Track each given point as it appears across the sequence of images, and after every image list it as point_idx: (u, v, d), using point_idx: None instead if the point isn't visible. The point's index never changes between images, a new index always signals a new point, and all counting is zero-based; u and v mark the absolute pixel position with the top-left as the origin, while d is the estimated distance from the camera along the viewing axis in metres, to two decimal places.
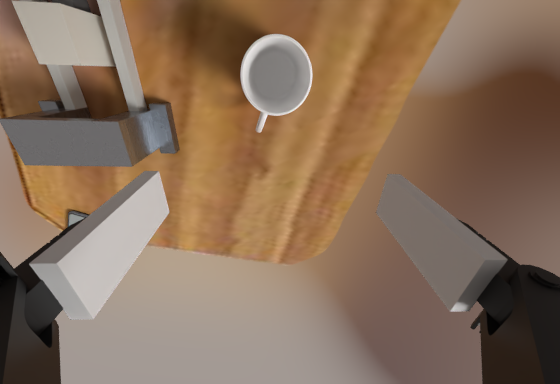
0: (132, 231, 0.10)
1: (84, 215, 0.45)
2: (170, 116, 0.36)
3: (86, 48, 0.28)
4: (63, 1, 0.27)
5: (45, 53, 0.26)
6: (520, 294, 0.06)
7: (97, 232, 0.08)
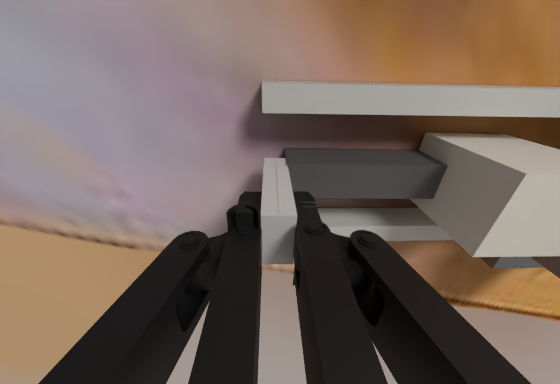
0: None
1: None
2: None
3: None
4: (428, 180, 0.14)
5: None
6: (301, 250, 0.07)
7: None
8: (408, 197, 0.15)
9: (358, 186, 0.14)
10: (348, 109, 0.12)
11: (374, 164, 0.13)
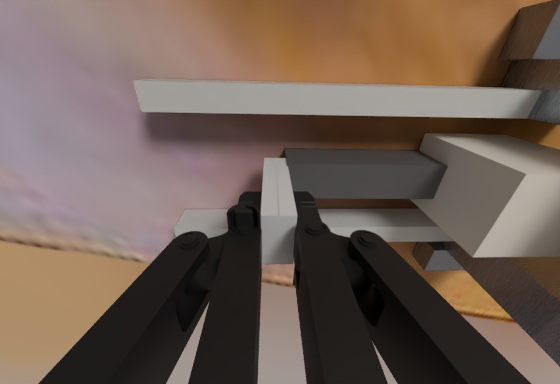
0: None
1: None
2: None
3: None
4: (428, 180, 0.14)
5: None
6: (301, 250, 0.07)
7: None
8: (408, 197, 0.15)
9: (358, 186, 0.14)
10: (230, 108, 0.12)
11: (374, 164, 0.13)
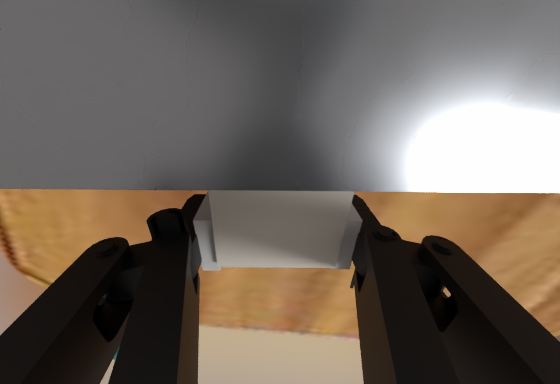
0: None
1: None
2: None
3: None
4: None
5: (248, 247, 0.09)
6: (369, 253, 0.07)
7: None
8: None
9: None
10: None
11: None
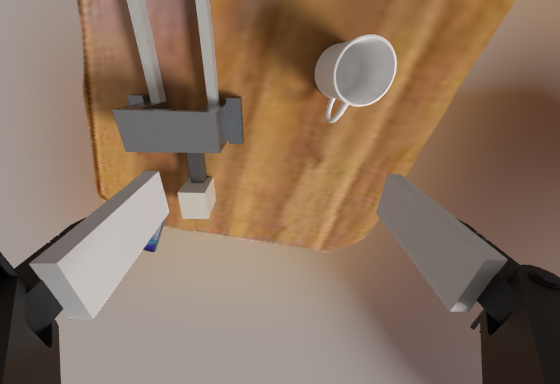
0: (132, 231, 0.10)
1: None
2: (241, 109, 0.39)
3: (209, 206, 0.44)
4: (197, 179, 0.44)
5: (188, 214, 0.43)
6: (520, 294, 0.06)
7: (97, 232, 0.08)
8: (190, 175, 0.43)
9: (191, 157, 0.41)
10: None
11: (200, 161, 0.42)
